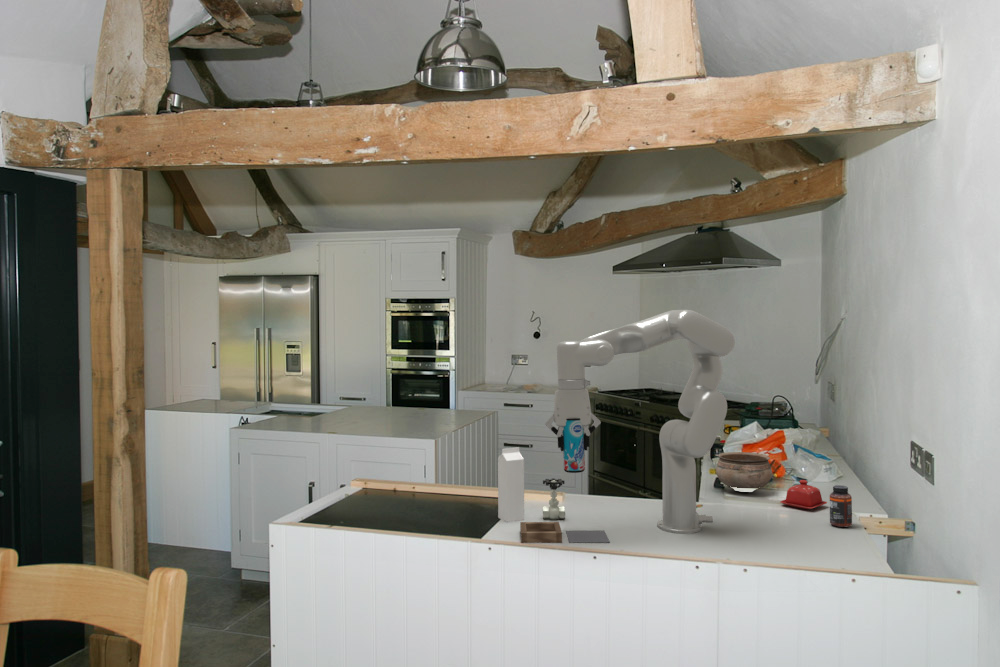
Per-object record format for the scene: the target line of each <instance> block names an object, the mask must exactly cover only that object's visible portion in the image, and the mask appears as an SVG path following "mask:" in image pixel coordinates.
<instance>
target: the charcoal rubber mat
mask: <svg viewBox="0 0 1000 667" xmlns="http://www.w3.org/2000/svg"><path fill="white" fill-rule="evenodd" d="M565 534H566V536H567V539H568V543H569V544H611V541H610V540H609V536H608V535H607V533H606V531H605V530H597V529H596V530H594V529H593V530H565Z"/></svg>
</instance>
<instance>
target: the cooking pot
mask: <svg viewBox="0 0 1000 667" xmlns="http://www.w3.org/2000/svg"><path fill="white" fill-rule="evenodd" d="M717 456H718V458H719V459H718V461H717V463H716V467H715V474H716V476H717V478H718V480H719V481H720V482H721V483H722V484H724V485H725V486H726V485H727V486H726V487H728V486H731V487H737V488H759V487H762V488H763V487H765V486H767V485H768V484H769V483H770V481H771V479H772V477H773V470H772V466H771V464H770V462H769V460H770V458H771V457H770V456H768V455H767V454H762V453H755V452H747V451H745V452H742V451H741V452H740V451H729V452H728V451H727V452H721V453H719V454H717Z"/></svg>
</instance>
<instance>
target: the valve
mask: <svg viewBox="0 0 1000 667" xmlns="http://www.w3.org/2000/svg"><path fill="white" fill-rule="evenodd" d="M542 484H543V485H545V486H549V488H550V490H551V492H550V499H549V501H548V505H549V506H542V519H543V520H549V519H550V520H551V521H552V520H553V521H557V520H558V519H559V520H565V519H566V510H565V509H566V507H565V506H559V502H560V501H559V500H558V499H557V497H558V492H557V491H556V490H557V489H559V488H560V487H561V486H563V485H565V480H564V479H562V478H558V479H557V478H555V477H553V478H551V479H549V478H545V479H543V480H542Z"/></svg>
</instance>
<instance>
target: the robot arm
mask: <svg viewBox="0 0 1000 667" xmlns="http://www.w3.org/2000/svg"><path fill="white" fill-rule="evenodd" d="M676 340H686V344H687V347H688V349H689V351H690V354H691V356H692V361H693V365H692V366H693V367H692V369H691V370H692V371H691V372H690V376H689V377H688V381H687V382H686V384H685V387H684V389H683V390H682V393H681V394H680V398H679V400H678V402H677V403H678V404H677V406H678V410H679V412H680V414H682V415H683V416H684V417H686V418H688V419H689V421H687V420H683V419H670V420H668V421H666V422H665V423H663V425H662V426H661V428H660V431H659V438H658V440H659V447H660V451H661V452H660V453H661V460H662V462H661V463H662V465H661V466H662V480H661V481H662V519H660V520H658V521H657V525H656V526H657V528H658V529H659V530H660V531H662V532H667V533H672V534H682V535H684V534H685V535H686V534H687V535H690V534H696V533H699V532H701V531H702V530H703V529H702V524H703V523H706V524H712V523H713V522H714V517H713V515H706V514H699V513H698V512H697V464H696V460H695V459H698V458H702V457H704V456H706V455H708V453H709V452H710V450H711V448H712V447H713V445H714V443H715V441H716V439H717V437H718V435H719V433H720V430H721V428H722V426H723V424H724V421H725V419H726V416H727V413H728V402H727V398H726V397H725V396H724V394H723V393H722V392H720V391H719V390H718V388H719V385H720V383H721V380H722V377H723V366H722V361H721V358H720V357H725V356H727V355H729V354H731V353H732V351H733V349H734V347H735V343H736V342H735V336H734V334H733V332H732V331H731V330H730V329H728V328H727V327H726V326H724V325H722V324H721V323H718V322H716V321H715V320H712V319H711V318H709V317H707V316H705V315H703V314H701V313H700V312H697V311H695V310H692V309H672V310H668V311H667V310H666V311H665V312H662V313H659V314H656V315H653V316H651V317H648V318H644V319H642V320H638V321H635V322H633V323H628V324H625V325H623V326H620V327H616V328H614V329H609V330H605V331H603V332H602V331H601V332H599V333H596V334H594V335H591V336H587V337H585V338H582V339H581V340H565V341H560V342H557V346H556V362H557V363H556V366H557V368H556V369H557V390H555V392H554V398H553V400H554V401H553V413H552V414H551V416H550V417H549V418H548V419H547V420H546V421H545V424H544V425H545V426H546V427H547V428H548V429H549V430H551V432H553V434H555V435H556V436H557V449H559V450H560V452H563V451H564V445H563V434H562V432H563V429H564V427H565V426H566V421H567V420H566V419H579V418H580V421H581V425H582V426H583V429H584V451H588V448H590V436H591V434H592V433H593V432H594V431H596V429H597V428H598V427H599V426H600V425H601V423H602V422H601V420H600V419H599V418H598V417H596V415H595V414H594V413H592V408H591V402H590V395H589V394H590V393H589V390H588V389H586V388H587V386H591V380H588V379H586V369H585V368H586V366H592V367H593V366H594V367H604V366H607V365H608V364H609V363H611V362H612V361H613V359H614V356H615V355H621V354H635V353H639V352H645V351H648V350H651V349H653V348H655V347H659V346H661V345H664V344H668V343H670V342H672V341H676ZM592 421H593V423H592ZM553 422H554V423H555V426H554V425H553V424H552V423H553ZM591 424H592V425H591ZM589 425H590V426H589ZM556 426H557V428H556Z"/></svg>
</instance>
